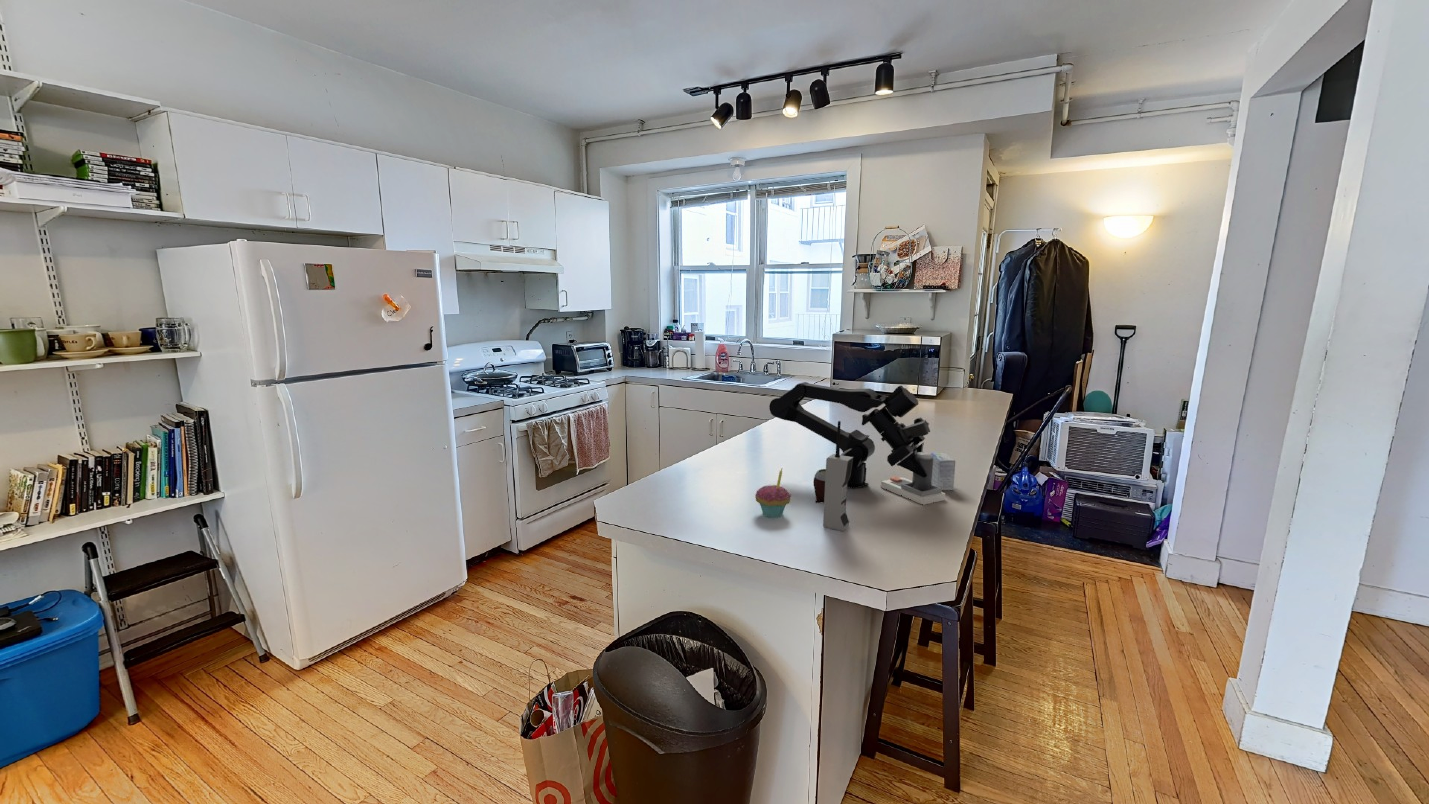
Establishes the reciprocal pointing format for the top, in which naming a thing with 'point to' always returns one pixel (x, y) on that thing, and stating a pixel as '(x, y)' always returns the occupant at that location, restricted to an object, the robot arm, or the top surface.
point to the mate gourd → (821, 483)
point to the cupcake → (773, 499)
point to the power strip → (913, 491)
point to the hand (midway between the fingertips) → (928, 474)
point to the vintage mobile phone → (836, 488)
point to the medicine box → (943, 471)
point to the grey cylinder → (927, 464)
